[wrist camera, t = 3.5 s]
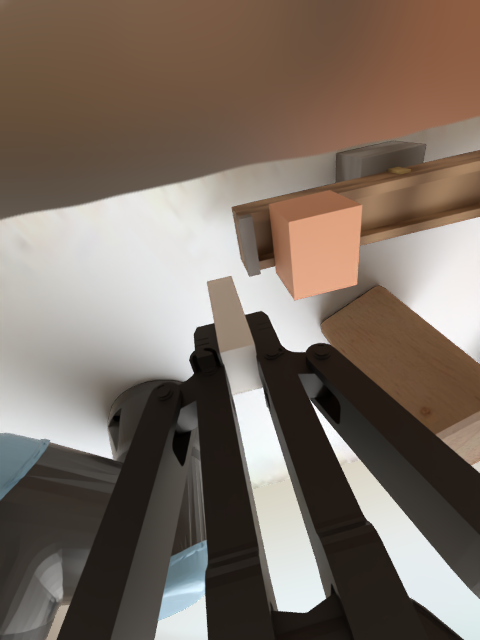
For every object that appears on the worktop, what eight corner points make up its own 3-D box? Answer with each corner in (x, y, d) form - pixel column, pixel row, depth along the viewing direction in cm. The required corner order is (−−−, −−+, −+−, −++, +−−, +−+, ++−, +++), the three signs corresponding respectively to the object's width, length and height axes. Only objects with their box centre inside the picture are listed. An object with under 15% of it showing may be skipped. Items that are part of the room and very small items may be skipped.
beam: (235, 254, 34) (252, 291, 27) (220, 179, 30) (236, 199, 22) (478, 196, 36) (557, 216, 28) (501, 116, 31) (602, 115, 24)
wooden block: (315, 323, 42) (405, 452, 26) (378, 280, 40) (520, 391, 24) (343, 361, 47) (433, 488, 31) (400, 324, 45) (529, 441, 29)
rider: (272, 267, 28) (294, 300, 23) (264, 200, 24) (288, 222, 19) (323, 254, 28) (357, 284, 23) (323, 187, 25) (362, 204, 19)
